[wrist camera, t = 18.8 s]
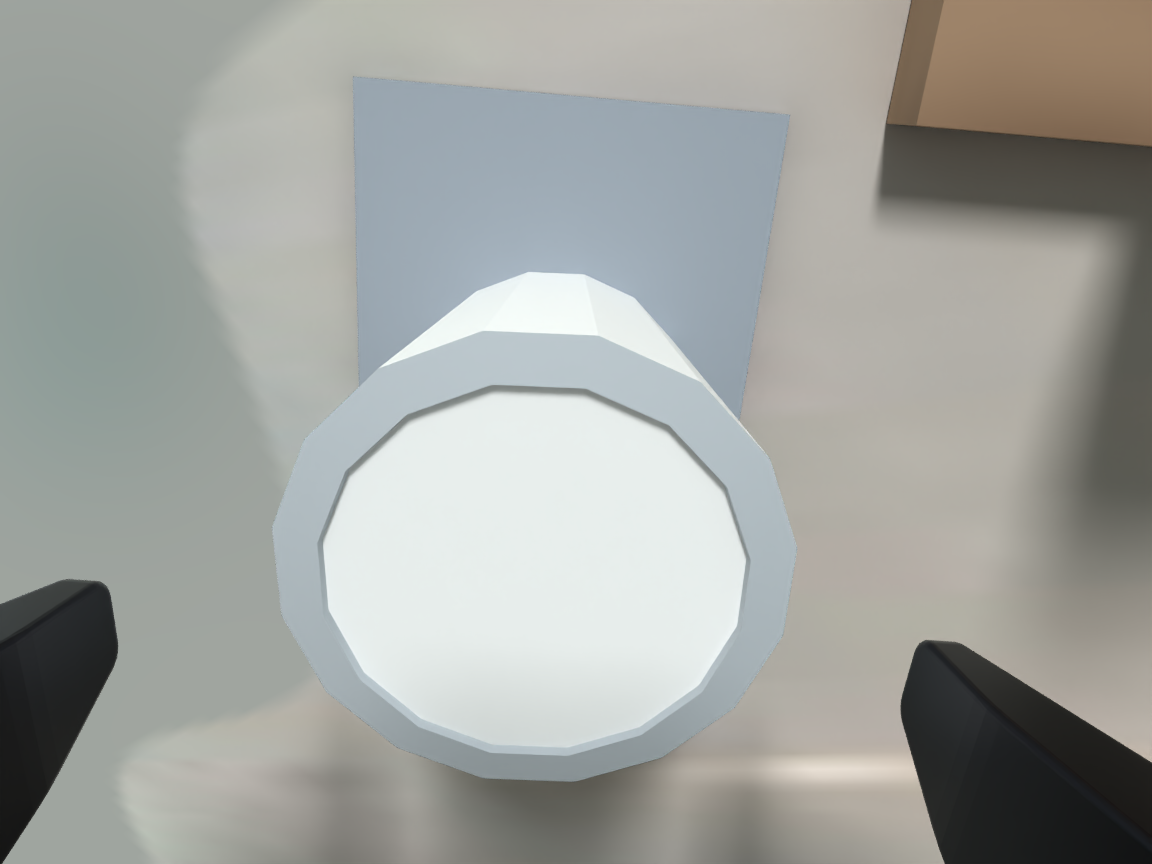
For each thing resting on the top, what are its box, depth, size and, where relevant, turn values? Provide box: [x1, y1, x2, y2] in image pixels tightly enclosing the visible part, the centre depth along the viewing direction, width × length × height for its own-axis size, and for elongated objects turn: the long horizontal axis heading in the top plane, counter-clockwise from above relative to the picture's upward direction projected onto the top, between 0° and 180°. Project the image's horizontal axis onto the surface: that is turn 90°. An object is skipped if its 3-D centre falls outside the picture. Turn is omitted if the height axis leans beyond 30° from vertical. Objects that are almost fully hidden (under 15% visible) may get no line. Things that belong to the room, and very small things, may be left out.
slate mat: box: [353, 77, 790, 420], centre depth 17 cm, size 12×8×1 cm, turn 175°
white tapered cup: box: [272, 272, 797, 782], centre depth 14 cm, size 7×7×7 cm
